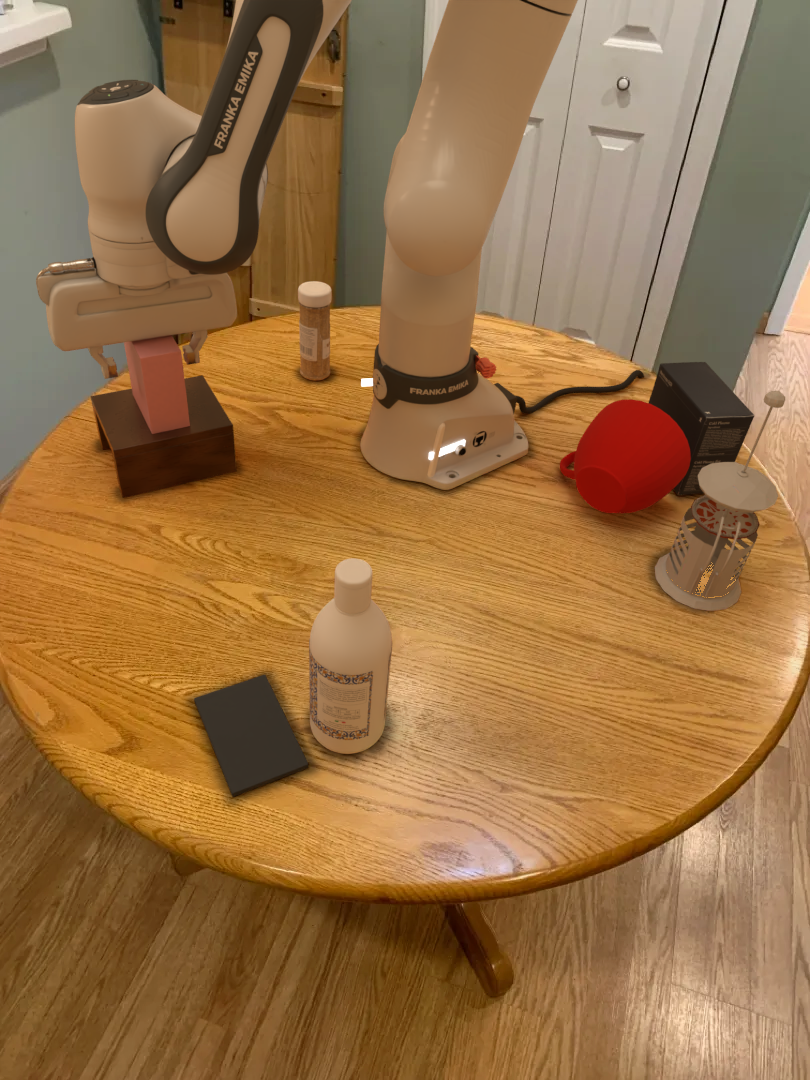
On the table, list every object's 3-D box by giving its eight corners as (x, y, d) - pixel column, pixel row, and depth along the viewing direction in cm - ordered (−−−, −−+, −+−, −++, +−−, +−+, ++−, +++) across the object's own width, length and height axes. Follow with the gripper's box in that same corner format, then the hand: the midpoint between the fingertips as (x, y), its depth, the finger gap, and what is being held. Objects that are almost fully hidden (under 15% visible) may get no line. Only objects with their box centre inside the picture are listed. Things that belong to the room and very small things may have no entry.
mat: (265, 677, 82) (265, 673, 81) (308, 767, 75) (308, 764, 74) (194, 701, 79) (193, 697, 79) (232, 797, 72) (232, 793, 72)
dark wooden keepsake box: (207, 420, 113) (202, 374, 108) (236, 471, 105) (233, 424, 101) (100, 442, 108) (90, 396, 103) (122, 498, 100) (113, 450, 95)
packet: (169, 387, 106) (159, 314, 99) (190, 426, 100) (181, 351, 93) (132, 394, 104) (120, 320, 97) (152, 434, 98) (140, 358, 91)
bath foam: (345, 682, 82) (351, 528, 69) (399, 722, 79) (416, 569, 66) (294, 726, 78) (289, 570, 65) (349, 770, 75) (356, 617, 61)
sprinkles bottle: (336, 377, 123) (337, 290, 114) (308, 384, 121) (308, 297, 112) (320, 362, 126) (321, 277, 117) (293, 369, 124) (291, 283, 115)
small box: (725, 493, 109) (757, 415, 101) (677, 497, 108) (706, 419, 100) (679, 434, 119) (706, 359, 111) (634, 438, 117) (658, 361, 109)
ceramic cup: (553, 533, 110) (593, 489, 115) (666, 535, 97) (706, 485, 101) (512, 450, 105) (556, 407, 110) (625, 440, 92) (669, 392, 96)
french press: (743, 564, 99) (830, 379, 82) (738, 632, 91) (834, 442, 74) (659, 541, 101) (727, 356, 84) (647, 606, 93) (720, 415, 76)
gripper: (37, 278, 83) (63, 399, 92) (239, 254, 91) (244, 367, 100) (26, 252, 87) (52, 370, 96) (220, 231, 95) (227, 341, 104)
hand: (151, 368), depth 98 cm, fingers open, 8 cm apart
